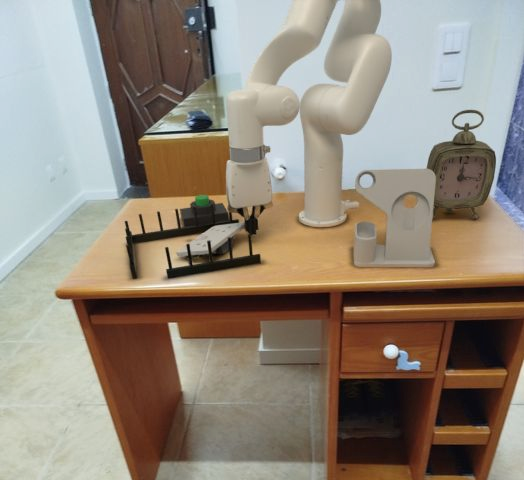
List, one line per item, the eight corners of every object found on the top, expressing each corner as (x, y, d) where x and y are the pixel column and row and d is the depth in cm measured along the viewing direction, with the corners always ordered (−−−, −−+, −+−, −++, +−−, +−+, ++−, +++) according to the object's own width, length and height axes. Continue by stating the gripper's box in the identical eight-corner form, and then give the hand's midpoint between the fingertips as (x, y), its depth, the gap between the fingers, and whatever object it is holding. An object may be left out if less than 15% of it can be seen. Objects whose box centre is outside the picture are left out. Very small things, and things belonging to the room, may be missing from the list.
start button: (208, 201, 130) (207, 194, 129) (210, 205, 127) (209, 198, 126) (195, 203, 130) (194, 195, 128) (197, 207, 127) (195, 200, 126)
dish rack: (238, 226, 127) (236, 200, 123) (260, 263, 108) (258, 233, 104) (129, 242, 122) (123, 216, 118) (133, 284, 103) (125, 254, 99)
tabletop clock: (424, 222, 121) (439, 114, 107) (419, 210, 129) (433, 107, 114) (484, 222, 120) (508, 112, 105) (475, 209, 127) (497, 104, 112)
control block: (223, 213, 135) (221, 195, 132) (229, 223, 129) (227, 204, 126) (181, 219, 133) (178, 201, 130) (184, 229, 127) (181, 211, 124)
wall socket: (224, 263, 106) (220, 246, 104) (165, 267, 112) (160, 251, 110) (251, 235, 121) (248, 219, 119) (198, 240, 126) (194, 225, 124)
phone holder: (352, 266, 104) (357, 183, 94) (351, 247, 112) (355, 168, 102) (435, 267, 102) (449, 181, 91) (428, 247, 110) (441, 166, 99)
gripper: (275, 146, 110) (277, 224, 120) (210, 153, 107) (218, 232, 118) (284, 154, 104) (285, 234, 115) (216, 161, 101) (224, 243, 112)
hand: (251, 233), depth 116 cm, fingers closed
